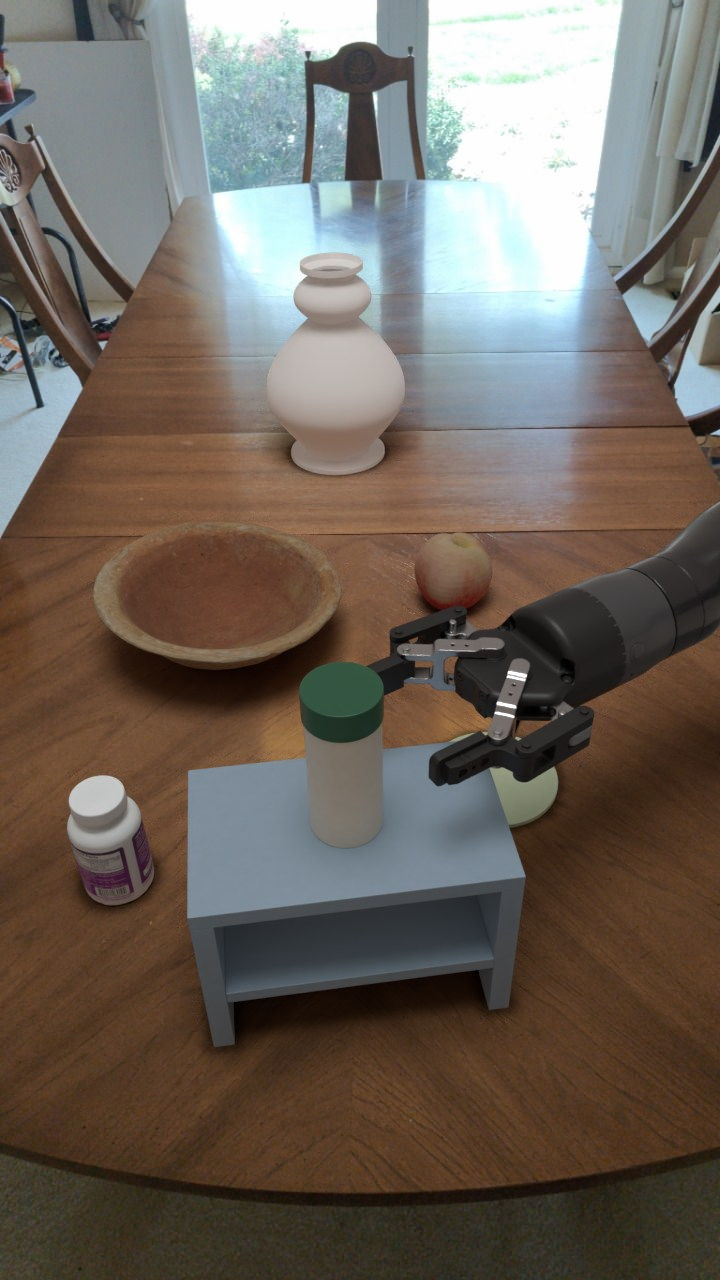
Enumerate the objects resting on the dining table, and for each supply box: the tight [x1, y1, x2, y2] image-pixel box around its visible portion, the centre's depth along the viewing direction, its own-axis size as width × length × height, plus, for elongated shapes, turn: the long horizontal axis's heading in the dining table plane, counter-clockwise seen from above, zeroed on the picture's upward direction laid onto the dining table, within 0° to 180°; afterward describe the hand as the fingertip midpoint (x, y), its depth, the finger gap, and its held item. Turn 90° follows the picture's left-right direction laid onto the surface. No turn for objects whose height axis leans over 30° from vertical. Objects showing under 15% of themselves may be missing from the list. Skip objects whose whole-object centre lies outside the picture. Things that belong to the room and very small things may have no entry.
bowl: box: [92, 521, 343, 671], centre depth 97 cm, size 24×24×8 cm
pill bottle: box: [66, 774, 155, 906], centre depth 73 cm, size 5×5×10 cm
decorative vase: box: [265, 251, 406, 476], centre depth 124 cm, size 18×18×25 cm
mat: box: [448, 731, 559, 829], centre depth 84 cm, size 11×11×1 cm
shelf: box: [186, 741, 527, 1048], centre depth 66 cm, size 12×20×14 cm, turn 98°
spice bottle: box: [298, 661, 385, 848], centre depth 59 cm, size 5×5×11 cm
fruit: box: [414, 531, 493, 611], centre depth 102 cm, size 8×8×8 cm
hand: (390, 730), depth 60 cm, fingers open, 8 cm apart
